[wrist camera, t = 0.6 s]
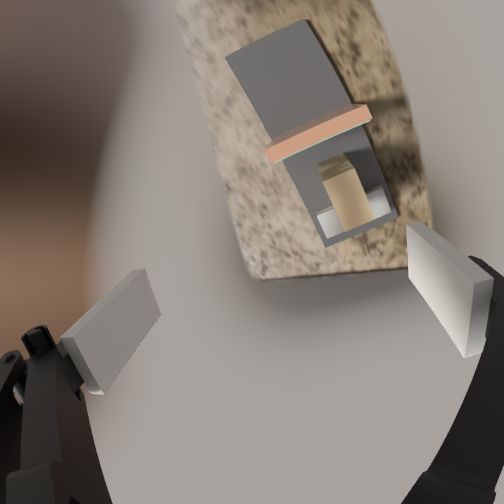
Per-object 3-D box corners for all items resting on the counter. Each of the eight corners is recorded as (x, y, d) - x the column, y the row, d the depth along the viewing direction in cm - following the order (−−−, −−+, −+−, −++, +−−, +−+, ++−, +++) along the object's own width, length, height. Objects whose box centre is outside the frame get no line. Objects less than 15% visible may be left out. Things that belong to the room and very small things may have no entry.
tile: (349, 103, 30) (366, 104, 22) (354, 114, 30) (373, 120, 22) (273, 137, 33) (264, 150, 25) (279, 148, 33) (272, 164, 25)
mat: (304, 20, 26) (304, 18, 26) (397, 215, 35) (398, 217, 34) (225, 58, 30) (224, 57, 29) (325, 245, 38) (325, 247, 37)
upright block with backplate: (363, 144, 31) (380, 156, 24) (388, 208, 34) (409, 237, 27) (296, 173, 34) (295, 193, 27) (326, 234, 37) (331, 268, 30)
